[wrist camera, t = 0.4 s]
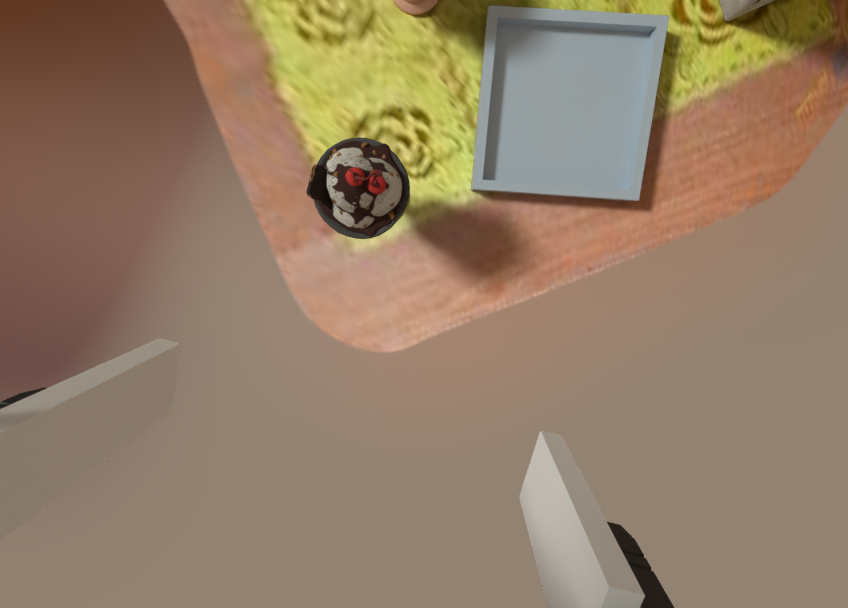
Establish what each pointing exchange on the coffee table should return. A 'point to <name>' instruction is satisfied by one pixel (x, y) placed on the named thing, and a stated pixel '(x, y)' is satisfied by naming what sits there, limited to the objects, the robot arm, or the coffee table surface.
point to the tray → (566, 102)
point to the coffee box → (740, 7)
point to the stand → (415, 6)
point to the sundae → (359, 187)
